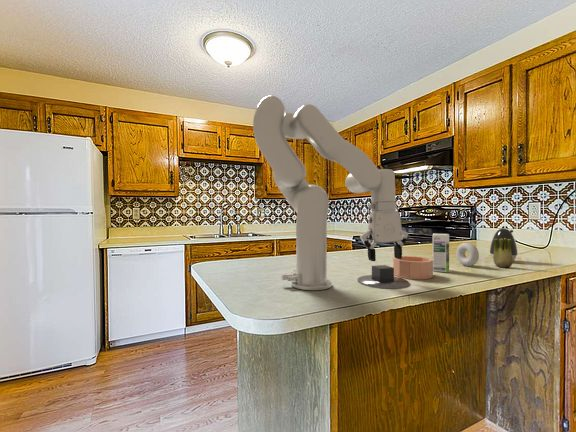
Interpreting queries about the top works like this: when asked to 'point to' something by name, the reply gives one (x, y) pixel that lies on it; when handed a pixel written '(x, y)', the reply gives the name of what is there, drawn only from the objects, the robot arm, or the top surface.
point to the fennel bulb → (502, 253)
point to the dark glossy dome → (501, 235)
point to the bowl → (413, 267)
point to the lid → (383, 278)
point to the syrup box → (441, 252)
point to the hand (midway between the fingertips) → (385, 259)
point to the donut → (472, 254)
